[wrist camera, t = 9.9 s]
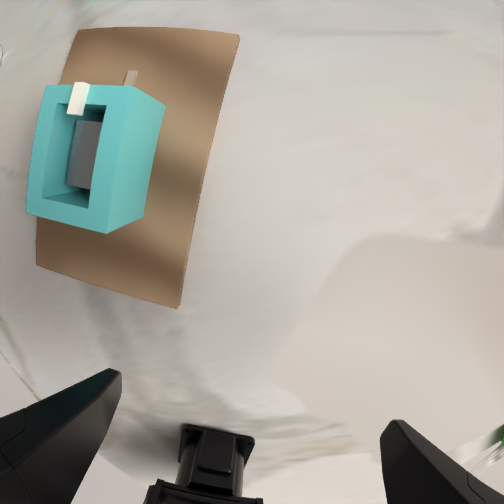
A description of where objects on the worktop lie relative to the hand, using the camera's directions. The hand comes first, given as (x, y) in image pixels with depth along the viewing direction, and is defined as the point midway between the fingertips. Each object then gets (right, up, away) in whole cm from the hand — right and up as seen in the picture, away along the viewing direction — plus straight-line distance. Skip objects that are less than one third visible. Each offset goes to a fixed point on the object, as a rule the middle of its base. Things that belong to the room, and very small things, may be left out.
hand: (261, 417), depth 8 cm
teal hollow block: (-9, +11, +9) cm, 17 cm away
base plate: (-9, +11, +10) cm, 17 cm away
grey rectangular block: (-9, +11, +10) cm, 17 cm away
